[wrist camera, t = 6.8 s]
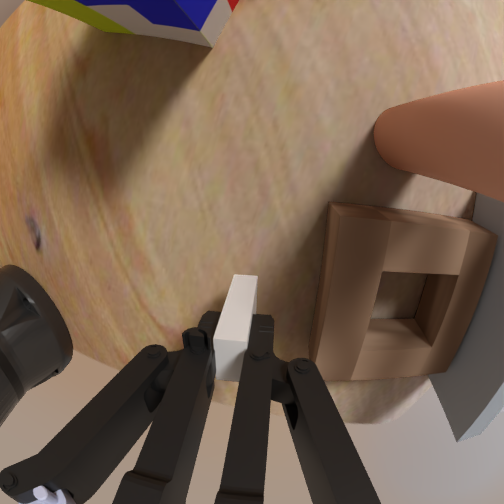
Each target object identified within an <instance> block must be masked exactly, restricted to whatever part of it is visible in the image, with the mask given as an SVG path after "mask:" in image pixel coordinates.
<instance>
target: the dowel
mask: <svg viewBox="0 0 504 504" xmlns="http://www.w3.org/2000/svg"><path fill="white" fill-rule="evenodd" d="M374 142H375V146H376V149H377V151H378V153H379V154H380V156H381V157H382V159H383V160H384V161H385V162H386V163H387V164H389V165H390V166H392V167H394V168H396V169H400V170H404V171H408V172H412V173H415V174H419V175H423V176H426V177H430V178H433V179H437V180H440V181H444V182H447V183H450V184H453V185H456V186H459V187H463V188H466V189H468V190H471V191H474V192H477V193H480V194H483V195H485V196H488V197H491V198H494V199H496V200H499V201H501V202H504V80H503V81H497V82H492V83H486V84H481V85H476V86H471V87H467V88H462V89H458V90H454V91H450V92H445V93H441V94H438V95H434V96H430V97H426V98H423V99H419V100H415V101H412V102H409V103H405V104H402V105H398V106H395V107H392V108H389V109H387V110H385V111H384V112H383V113H382V114H381V115H380V116H379V117H378V119H377V121H376V123H375V127H374Z"/></svg>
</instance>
